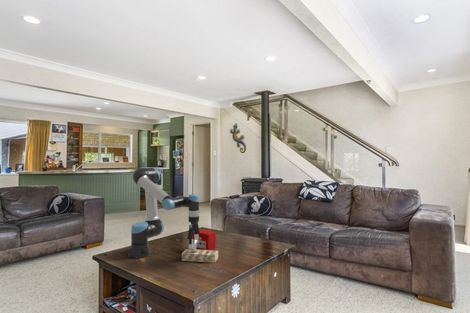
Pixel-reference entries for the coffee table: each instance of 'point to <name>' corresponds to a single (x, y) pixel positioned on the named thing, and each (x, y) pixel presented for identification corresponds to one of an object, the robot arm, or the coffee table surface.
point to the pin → (194, 246)
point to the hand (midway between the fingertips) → (193, 245)
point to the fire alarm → (206, 240)
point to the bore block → (200, 255)
